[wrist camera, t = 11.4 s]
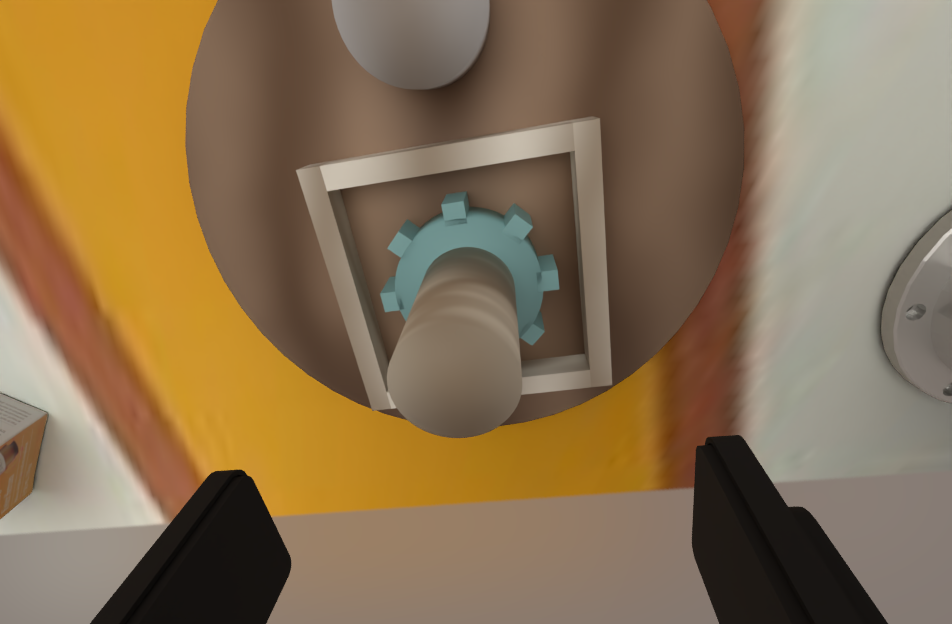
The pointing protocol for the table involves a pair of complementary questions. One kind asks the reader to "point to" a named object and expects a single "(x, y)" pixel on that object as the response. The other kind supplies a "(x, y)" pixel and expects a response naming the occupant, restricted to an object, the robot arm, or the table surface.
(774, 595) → the robot arm
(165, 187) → the table surface
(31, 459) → the small box
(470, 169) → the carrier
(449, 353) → the gear
